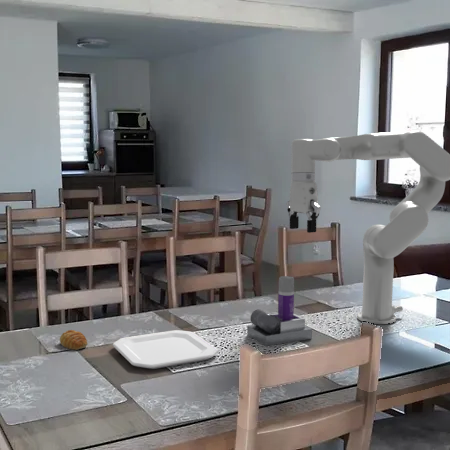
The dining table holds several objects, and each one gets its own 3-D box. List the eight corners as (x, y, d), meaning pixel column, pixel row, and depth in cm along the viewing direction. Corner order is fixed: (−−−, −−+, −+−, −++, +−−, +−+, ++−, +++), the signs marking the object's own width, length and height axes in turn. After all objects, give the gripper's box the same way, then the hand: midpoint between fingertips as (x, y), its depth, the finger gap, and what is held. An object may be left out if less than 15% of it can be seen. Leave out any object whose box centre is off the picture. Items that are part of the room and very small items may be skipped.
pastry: (93, 348, 175) (93, 335, 174) (71, 353, 171) (71, 340, 170) (78, 339, 182) (78, 327, 181) (57, 344, 178) (56, 331, 177)
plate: (137, 376, 154) (137, 367, 154) (108, 346, 176) (108, 339, 176) (224, 360, 166) (224, 352, 165) (187, 335, 187) (187, 328, 187)
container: (292, 329, 183) (293, 279, 181) (276, 328, 184) (277, 279, 182) (294, 324, 187) (295, 276, 185) (278, 323, 188) (279, 275, 186)
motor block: (291, 328, 193) (292, 303, 192) (311, 338, 184) (312, 312, 183) (247, 335, 186) (247, 309, 185) (265, 346, 177) (266, 319, 176)
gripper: (329, 178, 192) (328, 232, 194) (297, 176, 207) (296, 226, 209) (309, 179, 188) (309, 234, 190) (278, 176, 203) (278, 228, 206)
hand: (302, 230), depth 200 cm, fingers open, 9 cm apart
